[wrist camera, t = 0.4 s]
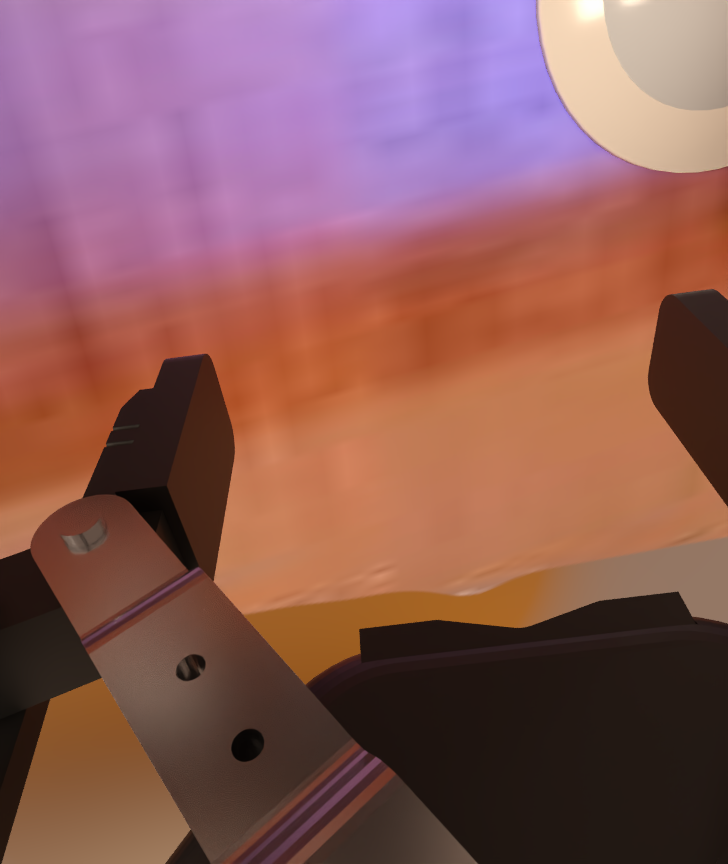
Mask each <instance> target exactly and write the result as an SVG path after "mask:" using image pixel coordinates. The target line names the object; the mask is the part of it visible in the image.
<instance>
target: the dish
mask: <svg viewBox="0 0 728 864" xmlns="http://www.w3.org/2000/svg"><path fill="white" fill-rule="evenodd" d="M536 19H537V27H538V34H539V42H540V46H541V50H542V54H543V58H544V62H545V66H546V69H547V72H548V74H549V77H550V79H551V82H552V84H553V87H554V89H555V92H556V93H557V95H558V97H559V99H560V100H561V102H562V104H563V106H564V108H565V109H566V111H567V112H568V114H569V115H570V116H571V118H572V119H573V120H574V122H575V123H576V124H577V125H578V127H579V128H580V129H581V130H582V131H583V132H584V133H585V134H586V135H587V136H588V137H589V138H590V139H591V140H592V141H593V142H594V143H596V144H597V145H598V146H600V147H601V148H603V149H604V150H606V151H607V152H609V153H610V154H611V155H613V156H615V157H617V158H620V159H622V160H624V161H626V162H628V163H630V164H633V165H637V166H640V167H644V168H647V169H652V170H659V171H667V172H675V173H688V172H702V171H708V170H714V169H720V168H723V167H726V166H728V0H536Z"/></svg>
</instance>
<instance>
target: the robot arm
mask: <svg viewBox="0 0 728 864" xmlns="http://www.w3.org/2000/svg"><path fill="white" fill-rule="evenodd" d="M648 385H649V391H650V395H651V398H652V401H653V403H654V405H655V407H656V408H657V410H658V411H659V412H660V414H661V415H662V416H663V418H664V419H665V421H666V422H667V423H668V425H669V426H670V428H671V429H672V430H673V432H674V433H675V434H676V436H677V437H678V439H679V440H680V441H681V443H682V444H683V446H684V447H685V448H686V450H687V451H688V452H689V454H690V455H691V457H692V458H693V459H694V461H695V462H696V464H697V465H698V466H699V468H700V469H701V470H702V472H703V473H704V475H705V476H706V477H707V479H708V480H709V482H710V483H711V484H712V486H713V487H714V488H715V490H716V491H717V493H718V494H719V495H720V497H721V498H722V500H723V501H724V502H725V504H726V505H727V506H728V300H727V299H726V298H725V297H724V296H722V295H721V294H720V293H719V292H718V291H716V290H714V289H709V290H701V291H694V292H686V293H678V294H671V295H667V296H666V297H665V298H664V299H663V301H662V303H661V306H660V309H659V314H658V320H657V326H656V332H655V337H654V343H653V349H652V355H651V360H650V366H649V373H648ZM106 445H107V447H104V449H103V452H102V454H101V456H100V459H99V461H98V463H97V466H96V468H95V470H94V473H93V475H92V477H91V480H90V482H89V484H88V487H87V489H86V491H85V494H84V496H83V498H82V499H79V500H76V501H74V502H72V503H69V504H67V505H65V506H64V507H62V508H60V509H59V510H57V511H56V512H54V513H53V514H52V515H50V516H49V517H48V518H47V519H46V520H45V521H44V522H43V523H42V524H41V525H40V526H39V528H38V529H37V531H36V532H35V534H34V536H33V538H32V541H31V546H30V547H31V548H30V549H28V550H25V551H23V552H20V553H17V554H14V555H12V556H9V557H6V558H3V559H0V864H1V863H2V860H3V856H4V853H5V850H6V846H7V843H8V840H9V836H10V833H11V830H12V826H13V823H14V819H15V816H16V813H17V809H18V806H19V803H20V799H21V796H22V792H23V789H24V785H25V782H26V779H27V775H28V772H29V769H30V765H31V762H32V759H33V755H34V752H35V748H36V745H37V741H38V738H39V735H40V732H41V728H42V725H43V721H44V718H45V714H46V711H47V708H48V704H49V701H50V699H51V698H53V697H56V696H58V695H61V694H63V693H66V692H68V691H71V690H73V689H76V688H78V687H80V686H83V685H85V684H88V683H90V682H93V681H95V680H97V679H100V678H103V680H104V682H105V684H106V685H107V687H108V689H109V690H110V692H111V694H112V696H113V697H114V699H115V700H116V702H117V704H118V706H119V707H120V709H121V711H122V713H123V714H124V716H125V718H126V719H127V721H128V723H129V724H130V726H131V728H132V730H133V731H134V733H135V735H136V736H137V738H138V740H139V742H140V743H141V745H142V747H143V748H144V750H145V752H146V753H147V755H148V757H149V759H150V760H151V762H152V764H153V765H154V767H155V769H156V771H157V772H158V774H159V776H160V777H161V779H162V781H163V783H164V784H165V786H166V788H167V789H168V791H169V793H170V794H171V796H172V798H173V800H174V801H175V803H176V805H177V806H178V808H179V810H180V812H181V813H182V815H183V816H184V818H185V820H186V822H187V824H188V825H189V827H190V829H191V830H190V831H189V833H188V834H187V836H186V837H185V838H184V839H183V841H182V842H181V843H180V845H179V846H178V848H177V849H176V850H175V851H174V853H173V854H172V855H171V857H170V858H169V859H168V861H167V862H166V863H165V864H728V624H727V623H723V622H719V621H714V620H709V619H704V618H699V617H692V616H691V614H690V612H689V610H688V609H687V607H686V605H685V604H684V601H683V599H682V598H681V596H680V594H679V592H671V593H663V594H654V595H646V596H637V597H629V598H621V599H612V600H604V601H598V602H595V603H592V604H589V605H587V606H584V607H581V608H579V609H576V610H573V611H571V612H568V613H565V614H563V615H559V616H557V617H554V618H551V619H549V620H546V621H543V622H541V623H538V624H535V625H532V626H529V627H525V628H510V627H500V626H490V625H481V624H471V623H461V622H452V621H442V620H432V621H424V622H415V623H407V624H399V625H390V626H382V627H373V628H365V629H360V630H359V632H360V650H361V654H358V655H355V656H353V657H350V658H347V659H345V660H343V661H341V662H339V663H337V664H335V665H333V666H331V667H330V668H328V669H327V670H325V671H324V672H322V673H321V674H319V675H318V676H316V677H314V678H313V679H312V680H311V681H310V682H308V683H307V684H306V685H305V684H304V683H303V682H302V681H301V680H300V679H299V677H298V676H297V675H295V673H294V672H293V671H292V670H291V669H290V667H289V666H288V665H287V664H286V663H285V662H284V661H283V659H282V658H281V657H280V656H279V655H278V654H277V653H276V652H275V650H274V649H273V648H272V647H271V646H270V645H269V644H268V643H267V641H266V640H265V639H264V638H263V637H262V636H261V635H260V634H259V632H258V631H257V630H256V629H255V628H254V627H253V626H252V625H251V624H250V622H249V621H248V620H247V619H246V618H245V617H244V616H243V615H242V613H241V612H240V611H239V610H238V609H237V608H236V607H235V606H234V604H233V603H232V602H231V601H230V600H229V599H228V598H227V597H226V595H225V594H224V593H223V592H222V591H221V590H220V589H219V588H218V586H217V585H216V584H215V583H214V582H213V581H214V575H215V569H216V563H217V557H218V551H219V546H220V540H221V534H222V528H223V522H224V516H225V510H226V504H227V498H228V492H229V486H230V480H231V474H232V468H233V462H234V455H235V445H234V435H233V429H232V425H231V421H230V418H229V415H228V411H227V408H226V405H225V401H224V398H223V395H222V391H221V388H220V385H219V381H218V378H217V375H216V371H215V368H214V365H213V362H212V360H211V358H210V356H209V355H208V354H201V355H193V356H185V357H177V358H170V359H165V360H164V362H163V364H162V367H161V369H160V372H159V375H158V377H157V380H156V383H155V385H154V388H151V389H144V390H139V391H138V392H137V393H136V394H135V395H134V396H133V397H132V398H131V399H130V400H129V401H128V402H127V403H126V404H125V405H124V406H123V407H122V408H121V410H120V412H119V414H118V417H117V419H116V421H115V424H114V426H113V431H111V433H110V435H109V438H108V440H107V442H106Z"/></svg>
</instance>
